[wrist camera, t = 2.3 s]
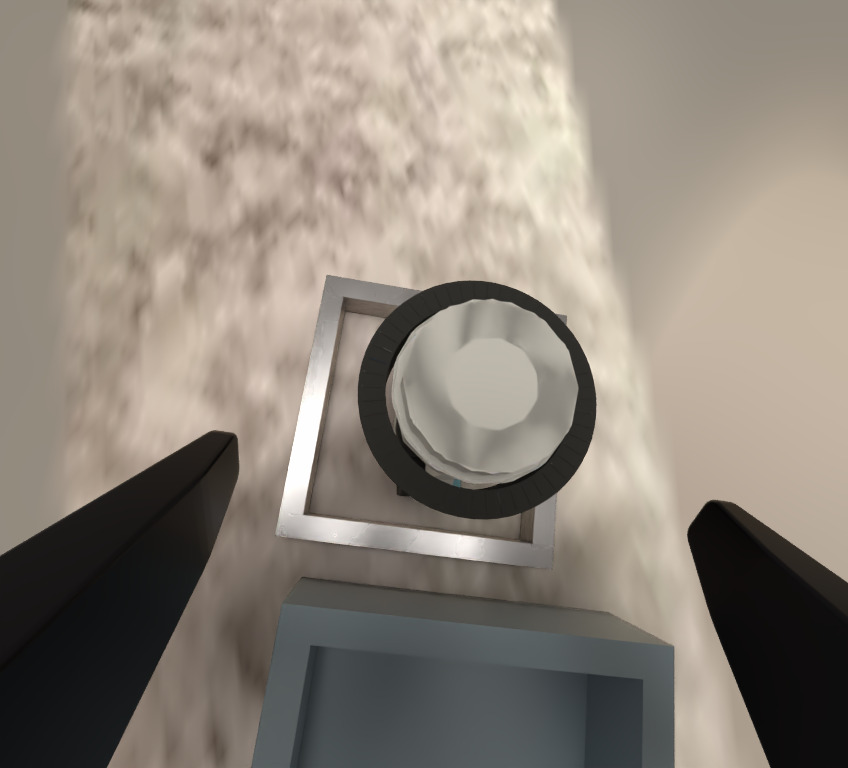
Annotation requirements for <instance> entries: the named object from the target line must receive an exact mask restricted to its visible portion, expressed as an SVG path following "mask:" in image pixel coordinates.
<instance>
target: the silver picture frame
mask: <svg viewBox="0 0 848 768" xmlns="http://www.w3.org/2000/svg"><path fill="white" fill-rule="evenodd" d="M420 292H422V291H419V290H413V289H407V288H401V287H395V286H389V285H383V284H378V283H372V282H366V281H360V280H354V279H348V278H342V277H337V276H331V275H327V276H326V281H325V286H324V291H323V296H322V301H321V306H320V311H319V316H318V321H317V326H316V331H315V336H314V341H313V347H312V352H311V357H310V362H309V367H308V372H307V377H306V382H305V387H304V392H303V397H302V402H301V407H300V412H299V418H298V423H297V428H296V433H295V438H294V443H293V448H292V453H291V458H290V463H289V468H288V473H287V478H286V483H285V488H284V494H283V499H282V504H281V509H280V514H279V519H278V524H277V529H276V534H275V536H280V537H288V538H296V539H304V540H313V541H321V542H329V543H337V544H345V545H354V546H362V547H370V548H378V549H386V550H395V551H403V552H411V553H419V554H427V555H436V556H444V557H452V558H460V559H468V560H477V561H485V562H493V563H501V564H510V565H518V566H526V567H534V568H542V569H551V570H552V567H553V550H554V532H555V515H556V497H557V493H556V494H554V495H553V496H552V497H551V498H549V499H548V500H546V501H545V502H543V503H541V504H540V505H538V506H536V507H534V508H532V509H530V510H528V511H525V512H522V516H521V529H520V540H518V539H511V538H503V537H495V536H487V535H479V534H471V533H463V532H455V531H447V530H440V529H432V528H424V527H416V526H408V525H400V524H392V523H384V522H377V521H369V520H361V519H353V518H345V517H337V516H329V515H321V514H313V513H308V512H309V507H310V501H311V496H312V490H313V485H314V479H315V474H316V468H317V463H318V457H319V452H320V447H321V441H322V436H323V430H324V425H325V419H326V414H327V408H328V403H329V397H330V392H331V386H332V381H333V375H334V370H335V364H336V359H337V353H338V348H339V343H340V337H341V332H342V326H343V321H344V315H345V311H349V312H355V313H361V314H367V315H373V316H379V317H386V318H387V317H388V316H389V315H390V314H391V313H392V312H393V311H394V310H395V309H396V308H397V307H398V306H400V305H401V304H402V303H403V302H405V301H406V300H408V299H409V298H411V297H412V296H414V295H416V294H418V293H420ZM556 315H557V316H558V317H559V318H560V319H561V320H562V321H563V322H564V323H565V325H566V322H567V316H565V315H560V314H556Z"/></svg>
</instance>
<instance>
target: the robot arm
mask: <svg viewBox="0 0 848 768" xmlns="http://www.w3.org/2000/svg"><path fill="white" fill-rule="evenodd" d="M238 475H239V450H238V438H237V436H236V435H235V434H234V433H231V432H224V431H217V430H213V431H210V432H208V433H206V434H205V435H203V436H201V437H200V438H198V439H196V440H195V441H193V442H191V443H189V444H188V445H186V446H184V447H183V448H181V449H179V450H178V451H176V452H174V453H173V454H171V455H169V456H168V457H166V458H164V459H162V460H161V461H159V462H157V463H156V464H154V465H152V466H151V467H149V468H147V469H146V470H144V471H142V472H141V473H139V474H137V475H135V476H134V477H132V478H130V479H129V480H127V481H125V482H124V483H122V484H120V485H119V486H117V487H115V488H114V489H112V490H110V491H108V492H107V493H105V494H103V495H102V496H100V497H98V498H97V499H95V500H93V501H92V502H90V503H88V504H87V505H85V506H83V507H82V508H80V509H78V510H76V511H75V512H73V513H71V514H70V515H68V516H66V517H65V518H63V519H61V520H60V521H58V522H56V523H55V524H53V525H51V526H49V527H48V528H46V529H44V530H43V531H41V532H39V533H38V534H36V535H34V536H33V537H31V538H29V539H28V540H26V541H24V542H23V543H21V544H19V545H17V546H16V547H14V548H12V549H11V550H9V551H7V552H6V553H4V554H2V555H1V556H0V768H107V766H108V764H109V762H110V760H111V758H112V756H113V754H114V752H115V750H116V748H117V746H118V744H119V742H120V740H121V738H122V736H123V734H124V732H125V730H126V728H127V726H128V724H129V722H130V719H131V717H132V715H133V713H134V711H135V709H136V707H137V705H138V703H139V701H140V699H141V697H142V695H143V693H144V691H145V689H146V687H147V685H148V683H149V681H150V679H151V677H152V675H153V673H154V671H155V668H156V666H157V664H158V662H159V660H160V658H161V656H162V654H163V652H164V650H165V648H166V646H167V644H168V642H169V640H170V638H171V636H172V634H173V632H174V630H175V628H176V626H177V624H178V622H179V620H180V617H181V615H182V613H183V611H184V609H185V607H186V605H187V603H188V601H189V599H190V597H191V595H192V593H193V591H194V589H195V587H196V585H197V583H198V581H199V579H200V577H201V575H202V573H203V571H204V568H205V566H206V564H207V562H208V560H209V557H210V555H211V552H212V549H213V547H214V544H215V541H216V539H217V536H218V533H219V530H220V527H221V524H222V522H223V519H224V516H225V513H226V510H227V508H228V505H229V502H230V499H231V496H232V494H233V491H234V488H235V485H236V482H237V479H238ZM687 538H688V542H689V546H690V549H691V552H692V556H693V559H694V563H695V566H696V570H697V573H698V576H699V580H700V583H701V587H702V590H703V593H704V597H705V600H706V604H707V607H708V610H709V613H710V616H711V619H712V621H713V624H714V627H715V629H716V632H717V634H718V637H719V639H720V642H721V645H722V647H723V650H724V652H725V655H726V657H727V660H728V662H729V665H730V667H731V669H732V672H733V674H734V677H735V679H736V682H737V684H738V687H739V690H740V692H741V695H742V697H743V699H744V702H745V705H746V707H747V710H748V712H749V715H750V717H751V720H752V722H753V725H754V727H755V730H756V732H757V735H758V737H759V740H760V743H761V745H762V748H763V750H764V753H765V755H766V758H767V760H768V763H769V765H770V767H771V768H848V583H847V582H846V581H844V580H843V579H841V578H840V577H839V576H837V575H836V574H835V573H833V572H832V571H830V570H829V569H827V568H826V567H825V566H823V565H822V564H820V563H819V562H817V561H816V560H815V559H813V558H812V557H810V556H809V555H807V554H806V553H804V552H803V551H802V550H800V549H799V548H797V547H796V546H795V545H793V544H791V543H790V542H789V541H787V540H786V539H785V538H783V537H782V536H780V535H779V534H777V533H776V532H775V531H773V530H772V529H770V528H769V527H767V526H766V525H764V524H763V523H762V522H760V521H759V520H757V519H756V518H755V517H753V516H752V515H750V514H749V513H747V512H746V511H745V510H743V509H742V508H740V507H739V506H738V505H736V504H734V503H731V502H726V501H719V500H710V501H709V502H707V503H706V504H705V505H704V506H703V508H702V509H701V511H700V512H699V513H698V515H697V516H696V518H695V519H694V520H693V522H692V523H691V525H690V526H689V528H688V533H687Z"/></svg>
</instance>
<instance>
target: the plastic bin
mask: <svg viewBox="0 0 848 768" xmlns="http://www.w3.org/2000/svg"><path fill="white" fill-rule="evenodd" d="M251 768H674V646H672V645H670V644H668V643H666V642H664V641H663V640H661V639H659V638H657V637H655V636H653V635H651V634H649V633H647V632H645V631H643V630H641V629H639V628H638V627H636V626H634V625H632V624H630V623H628V622H626V621H624V620H622V619H620V618H618V617H616V616H614V615H613V614H611V613H609V612H601V611H592V610H584V609H575V608H566V607H558V606H549V605H540V604H532V603H523V602H514V601H506V600H497V599H488V598H479V597H471V596H462V595H453V594H445V593H436V592H427V591H419V590H410V589H401V588H393V587H384V586H375V585H367V584H358V583H349V582H340V581H332V580H323V579H314V578H306V577H302V578H301V579H300V581H299V582H298V583H297V584H296V586H295V587H294V588H293V590H292V591H291V592H290V594H289V595H288V596H287V598H286V599H285V600H284V601H283V603H282V606H281V611H280V617H279V622H278V627H277V633H276V638H275V643H274V649H273V654H272V659H271V665H270V670H269V675H268V681H267V686H266V691H265V697H264V702H263V707H262V713H261V718H260V723H259V729H258V734H257V739H256V745H255V750H254V755H253V761H252V766H251Z"/></svg>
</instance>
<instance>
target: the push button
mask: <svg viewBox="0 0 848 768" xmlns="http://www.w3.org/2000/svg"><path fill="white" fill-rule="evenodd" d="M393 366H394V373H393V383H392V393H391V396H392V404H393V407H394V410H395V413H396V416H395V418H394V424H393V429H392V426H391V423H390V420H389V417H388V412H387V407H386V397H385V389H386V383H387V380H388V377H389V374H390V372H391V370H392V368H393ZM358 406H359V414H360V420H361V424H362V428H363V432H364V435H365V437H366V440H367V443H368V445H369V447H370V449H371V451H372V453H373V455H374V457H375V458H376V460H377V462H378V463H379V465H380V466H381V468H382V469H383V470H384V471H385V473H386V474H387V475H388V477H389V478H390V479H391V480H392V481H393V482H394V483H395V484H396V485H397V495H400V496H411V497H413V498H414V499H416V500H417V501H419V502H420V503H422V504H424V505H426V506H428V507H430V508H432V509H435V510H438V511H440V512H443V513H446V514H450V515H453V516H457V517H463V518H469V519H497V518H503V517H509V516H513V515H516V514H519V513H522V512H525V511H528V510H530V509H532V508H534V507H536V506H538V505H540V504H541V503H543V502H545V501H546V500H548V499H549V498H551V497H552V496H553V495H554V494H556V493H557V492H558V491H559V490H560V489H561V488H562V487H563V486H564V485H565V484H566V483H567V482H568V481H569V480H570V479H571V477H572V476H573V475H574V474H575V472H576V471H577V469H578V468H579V466H580V465H581V463H582V461H583V459H584V457H585V455H586V453H587V451H588V448H589V445H590V442H591V439H592V435H593V431H594V427H595V419H596V392H595V386H594V380H593V376H592V373H591V369H590V366H589V363H588V361H587V358H586V356H585V354H584V352H583V350H582V348H581V346H580V344H579V343H578V341H577V339H576V338H575V336H574V335H573V333H572V332H571V331H570V330H569V328H568V327H567V326H566V325H565V323H564V322H563V321H562V320H561V319H560V318H559V317H558V316H557V315H556V314H555V313H553V312H552V311H551V310H550V309H549V308H548V307H546V306H545V305H543V304H542V303H541V302H539V301H538V300H536V299H534V298H533V297H531V296H529V295H527V294H525V293H523V292H521V291H519V290H517V289H514V288H511V287H508V286H505V285H501V284H497V283H492V282H485V281H457V282H451V283H445V284H442V285H438V286H434V287H432V288H429V289H427V290H424V291H422V292H420V293H418V294H416V295H414V296H412V297H411V298H409V299H408V300H406V301H405V302H403V303H402V304H401V305H400V306H398V307H397V308H396V309H395V310H394V311H393V312H392V313H391V314H390V315H389V316H388V317H387V318H386V319H385V320H384V321H383V323H382V324H381V325H380V327H379V328H378V329H377V331H376V333H375V334H374V336H373V337H372V339H371V341H370V343H369V345H368V348H367V350H366V352H365V355H364V358H363V361H362V365H361V369H360V374H359V382H358ZM461 481H463V482H467V483H472V484H493V483H500V484H497V485H495V486H492V487H488V488H484V489H477V490H472V489H465V488H461Z"/></svg>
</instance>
